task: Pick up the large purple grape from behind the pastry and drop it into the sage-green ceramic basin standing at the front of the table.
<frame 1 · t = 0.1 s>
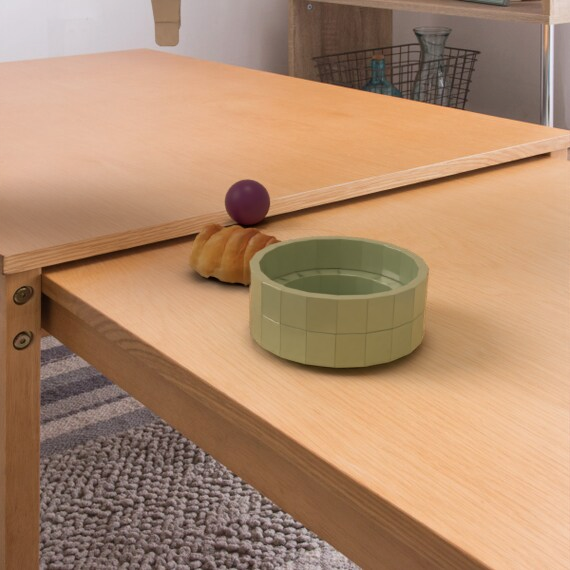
hand: (169, 37, 75), 19 cm above the table, tool pointing down, fingers open, 8 cm apart
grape: (247, 202, 90), point 2 cm above the table
pastry: (243, 274, 78), on the table
basin: (336, 335, 67), on the table
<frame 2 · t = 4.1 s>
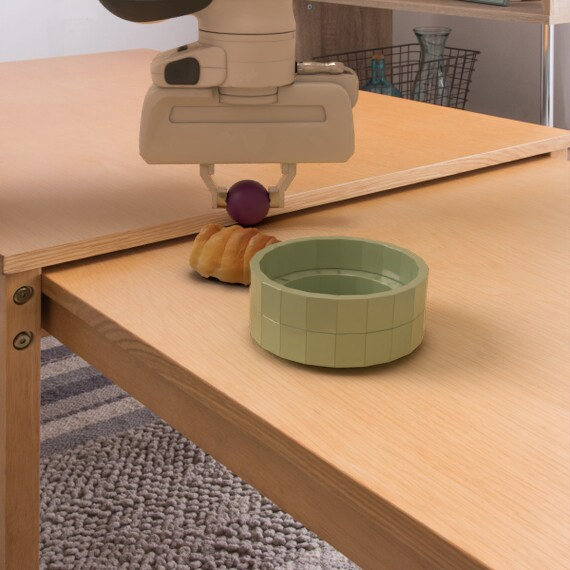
hand: (247, 207, 90), 2 cm above the table, tool pointing down, fingers closed on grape, 4 cm apart
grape: (247, 202, 90), point 2 cm above the table, touching gripper
everything else where it was.
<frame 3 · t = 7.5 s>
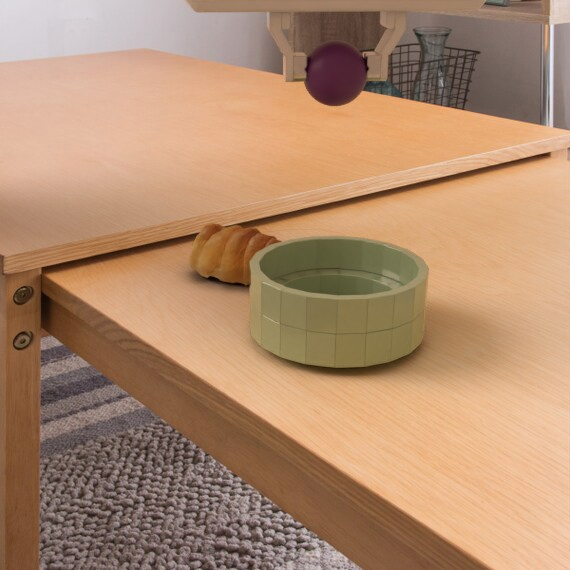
hand: (334, 80, 63), 18 cm above the table, tool pointing down, fingers closed on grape, 4 cm apart
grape: (334, 73, 63), point 18 cm above the table, touching gripper
everything else where it was.
when the fingers open (5 cm above the table, at t = 10.9 s): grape drops 2 cm, resting on basin.
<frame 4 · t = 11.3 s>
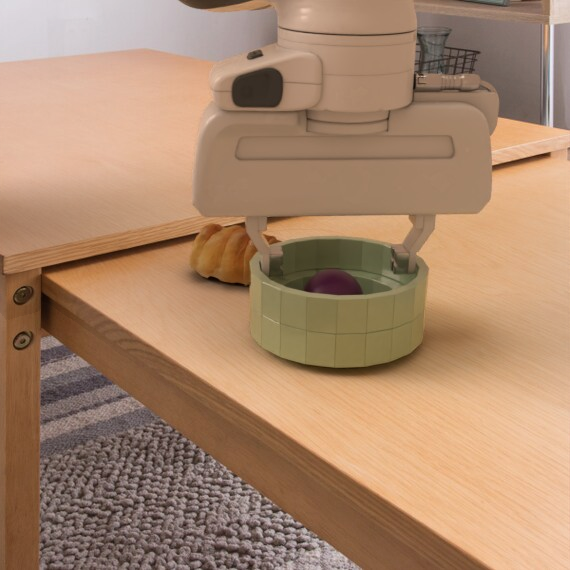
hand: (337, 273, 65), 5 cm above the table, tool pointing down, fingers open, 8 cm apart
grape: (332, 300, 66), point 3 cm above the table, tilted 10°, touching basin
everything else where it was.
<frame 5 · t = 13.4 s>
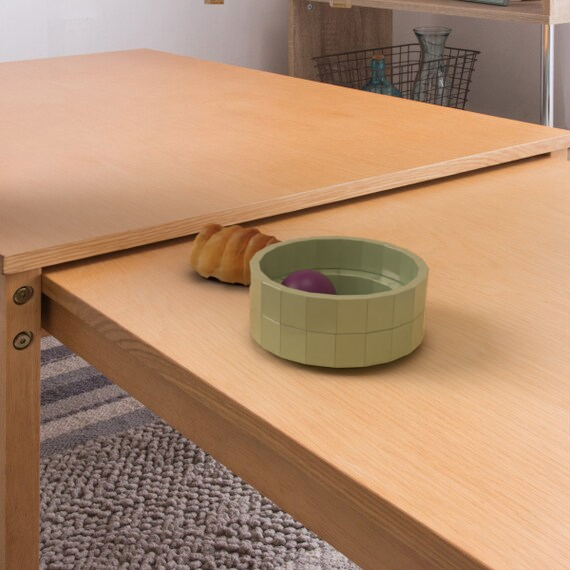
hand: (277, 5, 69), 22 cm above the table, tool pointing down, fingers open, 8 cm apart
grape: (306, 300, 66), point 3 cm above the table, tilted 58°, touching basin
everything else where it was.
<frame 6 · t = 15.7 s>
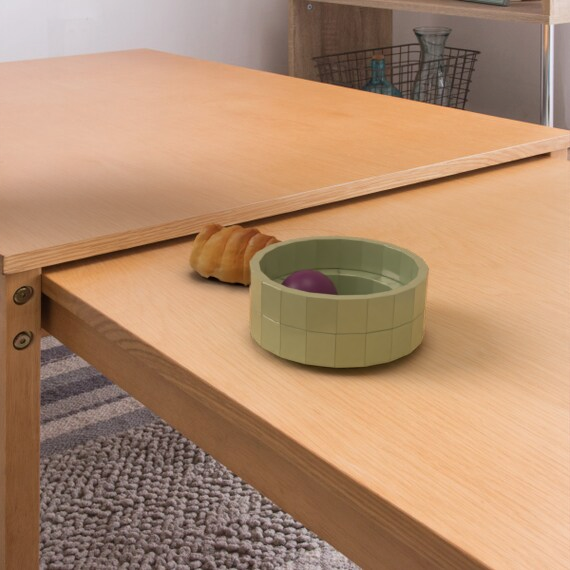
nothing on the table moved.
at the end: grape inside the target area in the basin (2.1 cm from its centre), point 2.8 cm above the basin's base; the gripper is holding nothing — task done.
